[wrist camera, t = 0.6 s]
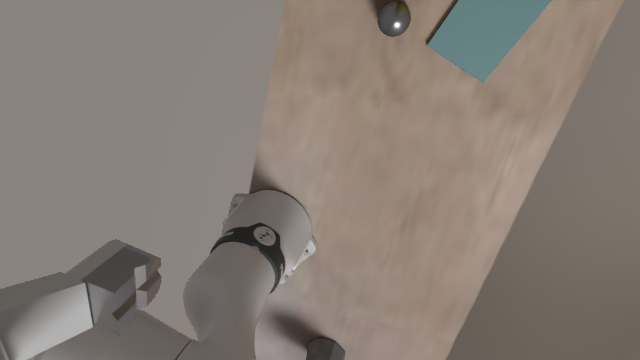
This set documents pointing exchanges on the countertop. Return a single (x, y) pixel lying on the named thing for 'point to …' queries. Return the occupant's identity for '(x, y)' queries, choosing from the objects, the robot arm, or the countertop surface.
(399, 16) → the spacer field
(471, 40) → the mat
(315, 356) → the coffeepot
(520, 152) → the countertop surface
